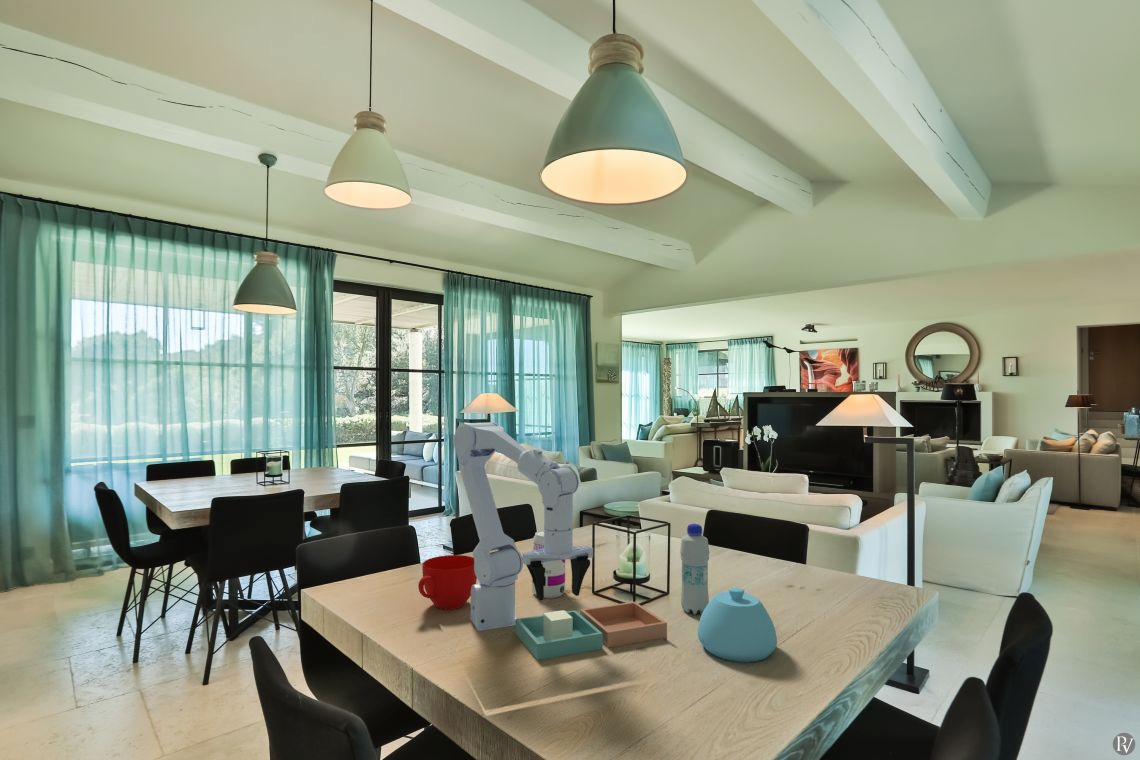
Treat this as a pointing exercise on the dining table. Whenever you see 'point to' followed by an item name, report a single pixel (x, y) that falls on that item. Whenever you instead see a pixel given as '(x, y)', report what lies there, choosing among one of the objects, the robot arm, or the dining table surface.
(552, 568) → the supplement can
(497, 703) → the dining table surface
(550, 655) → the bin
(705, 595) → the bottle
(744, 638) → the sugar bowl
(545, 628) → the cube
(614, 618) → the bin
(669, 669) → the dining table surface
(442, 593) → the ceramic cup
